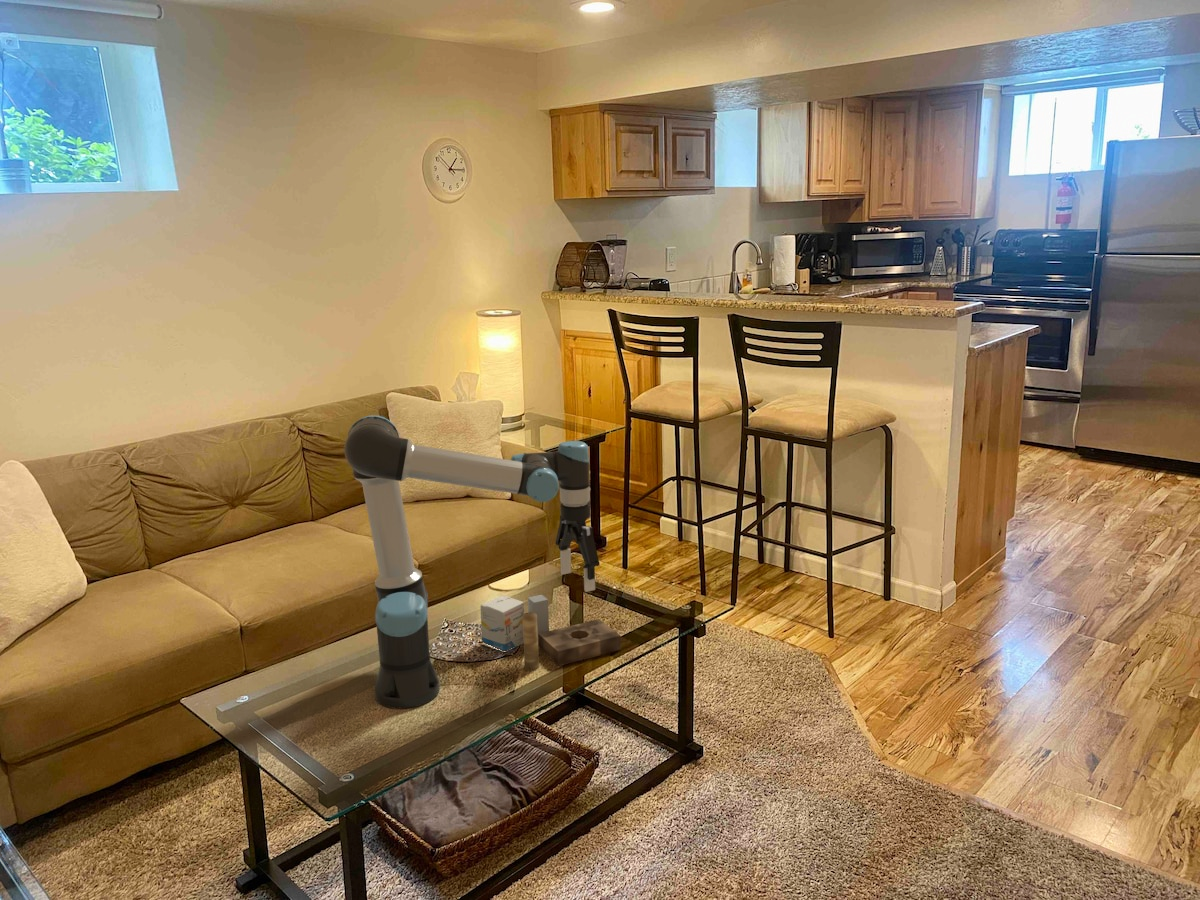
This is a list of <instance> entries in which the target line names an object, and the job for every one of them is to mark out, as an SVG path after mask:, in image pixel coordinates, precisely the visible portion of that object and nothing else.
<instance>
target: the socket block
mask: <svg viewBox="0 0 1200 900" xmlns="http://www.w3.org/2000/svg"><path fill="white" fill-rule="evenodd" d="M538 637H539V644H538V649H540V651H542V652H543V653H544V654H545V656H547V657H548V658H550V659H551V661H552V662H553V663H554V664H556V665H557V667H560V666H561V667H562V666H565V665H568V664H572V663H575V662H579V661H583V659H584V660H587V659H590V658H594V657H599V656H603V655H606V654H610V653H614V652H617V651H621V650H622V649H621V648H622V646H621V645H622V643H621V637H622V636H621V635H620V633H619V632H617V631H615V630H614V629H613V628H611V627H610V626H609V625H608V624H606V623H605V622H604V621H603V620H600V618H597V619H593V620H590V621H585V622H582V623H577V624H573V625H568V626H565V627H560V628H556V629H552V630H549V631H547V632H543V633H539V634H538Z"/></svg>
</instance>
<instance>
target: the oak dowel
mask: <svg viewBox="0 0 1200 900" xmlns="http://www.w3.org/2000/svg"><path fill="white" fill-rule="evenodd" d="M522 620H523V642H524V643H523V659H524V660H523V661H524V662H523V663H524V669H525V670H526V671H535V670H538V669H539V668H540V663H539V662H540V659H539V644H538V631H537V614H536V613H532V612H529V611H528V612H524V614H523V615H522Z"/></svg>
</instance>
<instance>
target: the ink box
mask: <svg viewBox="0 0 1200 900" xmlns="http://www.w3.org/2000/svg"><path fill="white" fill-rule="evenodd" d="M523 614H525V602H524V601H522V600H518V599H516V598H512V597H510V596H506V595H500V596H497V597H495V598H493V599H490V600H488V601H487V602H484V603H481V604H480V626H481V643H482V642H484V643H486V644H488V645H491V646H493V647H495V648H497V649H500V650H502V651H507V650H509V649H511V648H513V647H515V648H517V647H518V645H519V646H521V645H522V644H524V642H523V620H522V615H523ZM516 646H517V647H516ZM513 649H514V648H513ZM511 650H512V649H511Z"/></svg>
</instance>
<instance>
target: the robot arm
mask: <svg viewBox="0 0 1200 900" xmlns="http://www.w3.org/2000/svg"><path fill="white" fill-rule="evenodd" d="M589 456H590V455H589V446H588V444H587V443H585V442H584V441H581V440H567V441H562V442H559V444H558V449H557V450H555V451H547V452H546V451H545V452H529V453H528V452H522V453H518V454H513V455H512V456H511V458H510V459H505V458H501V457H499V458H498V457H493V456H488V455H481V454H476V453H475V454H474V453H469V452H462V451H455V450H451V449H444V448H437V447H432V446H425V445H417V444H414V443H413V442H412V441H411V439H409V438H403V437H400V433H399V430H398V429H397V427H396V426H395V425H394V423H393V422H392V421H390V420H389V419H388V418H386V417H384V416H382V415H376V414H374V415H373V414H371V415H367V416H366V415H365V416H363V417H361V418H360V419H358V420H356V421H355V422H354V423H353V424H352V425H351V427H350V428H349V431H348V433H347V438H346V440H345V443H344V457H345V460H346V462H347V464H348V465H349V466H350V467H351V470H352V473H353V477H354V479H355V480H356V481H358V482H360V483H361V485H362V489H363V490H362V491H363V497H364V501H365V507H366V511H367V516H368V521H369V527H370V532H371V536H372V537H371V538H372V543H373V548H374V553H375V558H376V559H375V560H376V563H377V569H378V574H379V575H378V576H377V578H376V579H375V581H374V586H375V592H376V593H375V594H376V597H377V605H376V607H375V613H374V621H375V623H376V631H377V632H376V633H377V635H376V636H377V644H378V657H379V670H378V673H377V677H376V681H375V684H374V698H375V701H376V702H377V703H378V705H381V706H383V707H386V708H389V709H410V708H411V709H412V708H415V707H419V706H422V705H425V704H427V703H429V702H431V701H433V700H434V699H435V698H436V697H437V696H438V694H439V693H440V691H441V689H440V678H439V677H438V674H437V672H436V669H435V667H434V666H433V663H432V661H431V655H430V639H429V625H428V624H429V621H428V620H429V619H428V616H429V615H428V613H429V612H428V610H429V609H428V604H429V596H428V591H427V590H426V587H425V583H424V582H425V581H424V578H423V573H422V570H420V569H418V568H416V567H415V562H414V556H413V551H412V547H411V540H410V536H409V529H408V525H407V519H406V513H405V507H404V502H403V497H402V491H401V486H400V482H403V481H405V480H407V479H409V478H410V479H416V480H422V481H430V482H435V483H436V482H437V483H441V484H442V483H444V484H450V485H456V486H462V487H469V488H476V489H482V490H488V491H497V492H502V493H509V494H516V495H522V496H529V497H530V498H531V499H532V500H534V501H536V502H540V503H546V502H549V501H551V500H553V499H554V498H555V497H556V496H557V494H558V492H559V501H560V503H561V504H560V515H559V524H558V530H557V534H556V538H555V545H556V546H558V549H559V556H560V559H559V560H560V563H559V564H560V574H561V575H566V574H568V575H569V574H572V552H571V551H572V550H571V543H572V541H573V540H574V542H575V543H576V544H578V548H579V551H580V554H581V556H582V559H583V562H584V565H583V587H584V588H583V590H584V592H585V593H587V592H591V591H595V590H596V567H598V566H600V560H599V555H598V551H597V547H596V543H595V538H594V533H593V532H594V531H593V527H592V526H587V523H586V521H587V520H588V519H590V518H591V503H590V501H591V497H590V496H591V495H590V493H591V490H592V489H591V487H590V484H591V483H590V457H589Z"/></svg>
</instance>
